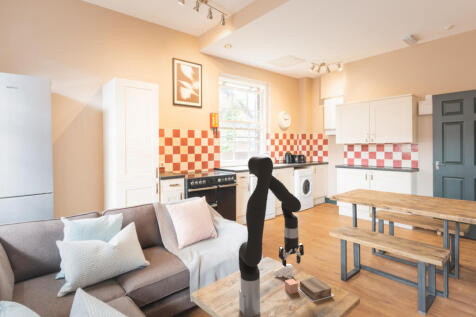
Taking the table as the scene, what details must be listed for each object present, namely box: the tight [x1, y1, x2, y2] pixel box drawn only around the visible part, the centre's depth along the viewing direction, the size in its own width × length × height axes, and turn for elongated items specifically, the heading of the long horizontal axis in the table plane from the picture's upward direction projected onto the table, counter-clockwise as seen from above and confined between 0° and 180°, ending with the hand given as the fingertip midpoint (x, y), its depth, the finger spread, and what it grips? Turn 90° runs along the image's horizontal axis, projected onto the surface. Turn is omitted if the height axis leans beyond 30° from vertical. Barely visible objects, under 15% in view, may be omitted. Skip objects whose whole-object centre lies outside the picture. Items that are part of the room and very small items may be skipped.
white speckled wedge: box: [273, 263, 294, 280], centre depth 157 cm, size 6×8×12 cm
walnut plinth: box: [299, 277, 332, 300], centre depth 140 cm, size 11×12×4 cm
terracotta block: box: [284, 278, 299, 295], centre depth 142 cm, size 5×5×6 cm
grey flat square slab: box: [298, 286, 335, 303], centre depth 140 cm, size 14×14×1 cm
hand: (291, 264), depth 141 cm, fingers open, 8 cm apart
